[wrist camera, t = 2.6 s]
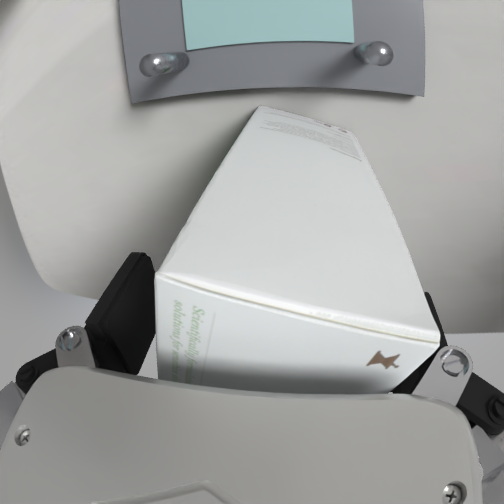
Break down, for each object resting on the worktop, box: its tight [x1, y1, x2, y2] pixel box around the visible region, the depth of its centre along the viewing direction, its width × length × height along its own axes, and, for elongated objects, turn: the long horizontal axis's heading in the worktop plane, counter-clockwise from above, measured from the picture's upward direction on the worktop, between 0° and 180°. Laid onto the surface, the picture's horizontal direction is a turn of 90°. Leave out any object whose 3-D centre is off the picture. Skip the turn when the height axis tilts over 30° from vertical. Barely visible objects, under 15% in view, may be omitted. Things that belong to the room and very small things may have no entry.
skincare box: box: [154, 105, 440, 394], centre depth 14 cm, size 8×7×16 cm
